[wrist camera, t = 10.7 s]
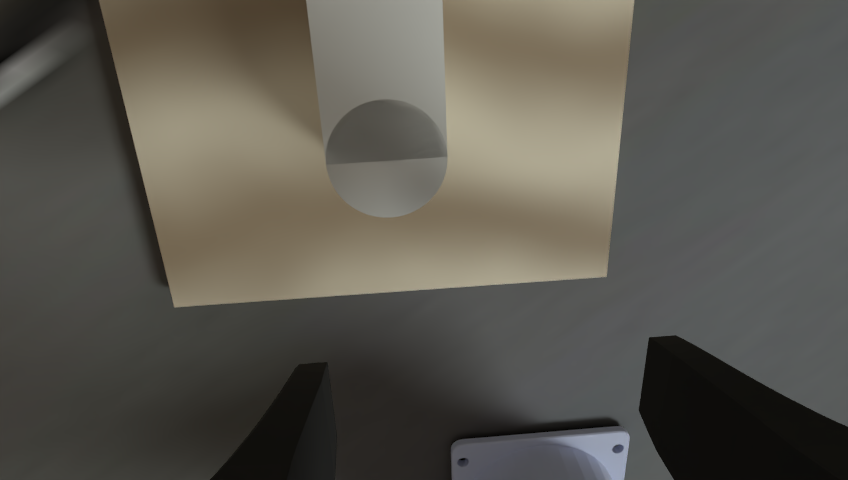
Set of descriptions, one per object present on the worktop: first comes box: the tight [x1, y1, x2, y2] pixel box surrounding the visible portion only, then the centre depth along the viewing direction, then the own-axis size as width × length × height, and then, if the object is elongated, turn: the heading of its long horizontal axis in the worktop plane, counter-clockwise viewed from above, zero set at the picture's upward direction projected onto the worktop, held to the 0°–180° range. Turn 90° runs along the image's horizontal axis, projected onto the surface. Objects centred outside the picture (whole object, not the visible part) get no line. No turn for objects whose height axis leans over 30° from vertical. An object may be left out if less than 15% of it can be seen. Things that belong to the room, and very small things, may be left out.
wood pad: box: [99, 0, 634, 307], centre depth 18 cm, size 18×16×1 cm
